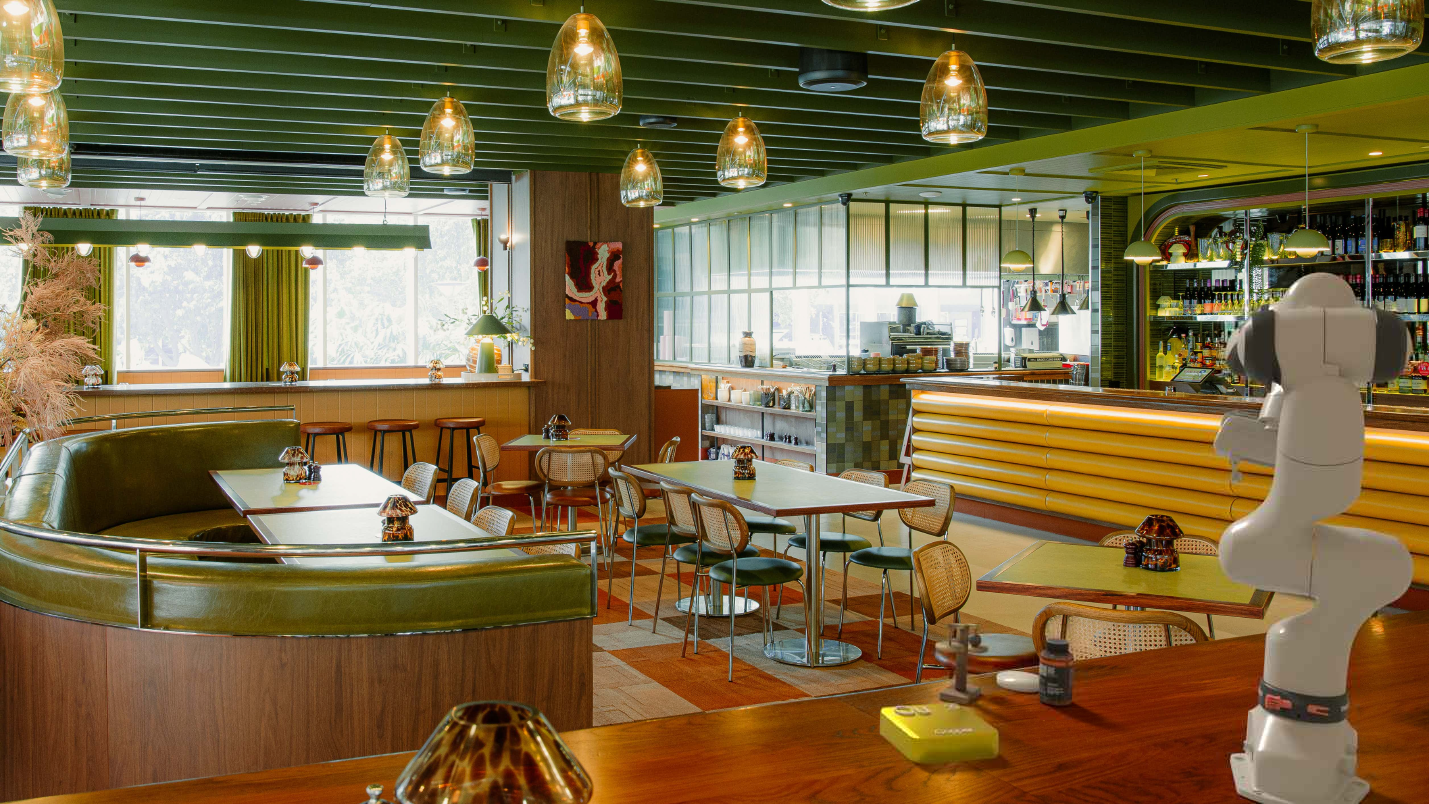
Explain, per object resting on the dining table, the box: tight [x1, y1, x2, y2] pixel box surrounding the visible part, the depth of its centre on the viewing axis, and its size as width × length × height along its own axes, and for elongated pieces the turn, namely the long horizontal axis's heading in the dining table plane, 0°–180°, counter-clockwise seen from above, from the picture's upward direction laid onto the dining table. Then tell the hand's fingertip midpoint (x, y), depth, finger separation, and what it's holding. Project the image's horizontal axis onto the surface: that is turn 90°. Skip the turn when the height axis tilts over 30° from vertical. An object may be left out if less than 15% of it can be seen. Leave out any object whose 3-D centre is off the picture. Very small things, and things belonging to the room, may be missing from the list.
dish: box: [996, 670, 1039, 693], centre depth 207 cm, size 9×9×1 cm
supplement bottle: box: [1037, 637, 1075, 707], centre depth 198 cm, size 6×6×11 cm
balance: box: [934, 623, 989, 706], centre depth 199 cm, size 19×5×15 cm, turn 148°
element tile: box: [879, 702, 1000, 765], centre depth 176 cm, size 15×15×5 cm
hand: (1262, 488), depth 197 cm, fingers open, 8 cm apart
